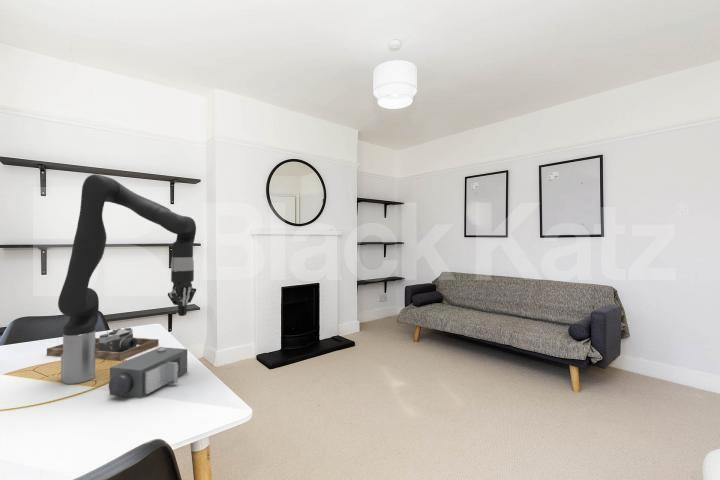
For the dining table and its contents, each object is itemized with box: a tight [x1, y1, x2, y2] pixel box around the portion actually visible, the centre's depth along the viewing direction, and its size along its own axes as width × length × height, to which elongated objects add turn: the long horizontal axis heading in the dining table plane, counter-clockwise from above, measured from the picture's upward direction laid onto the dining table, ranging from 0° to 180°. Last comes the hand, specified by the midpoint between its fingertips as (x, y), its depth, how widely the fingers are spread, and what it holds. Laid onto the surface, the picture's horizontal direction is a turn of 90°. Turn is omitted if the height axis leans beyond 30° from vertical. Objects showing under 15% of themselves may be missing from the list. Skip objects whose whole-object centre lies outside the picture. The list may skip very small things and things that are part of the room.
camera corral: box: [95, 337, 160, 361], centre depth 159 cm, size 15×21×3 cm
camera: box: [98, 327, 138, 353], centre depth 158 cm, size 16×10×10 cm, turn 168°
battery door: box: [144, 362, 179, 395], centre depth 118 cm, size 4×10×7 cm, turn 168°
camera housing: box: [108, 346, 188, 399], centre depth 123 cm, size 12×25×10 cm, turn 168°
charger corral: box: [46, 337, 99, 358], centre depth 160 cm, size 15×18×3 cm
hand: (182, 315), depth 130 cm, fingers closed
